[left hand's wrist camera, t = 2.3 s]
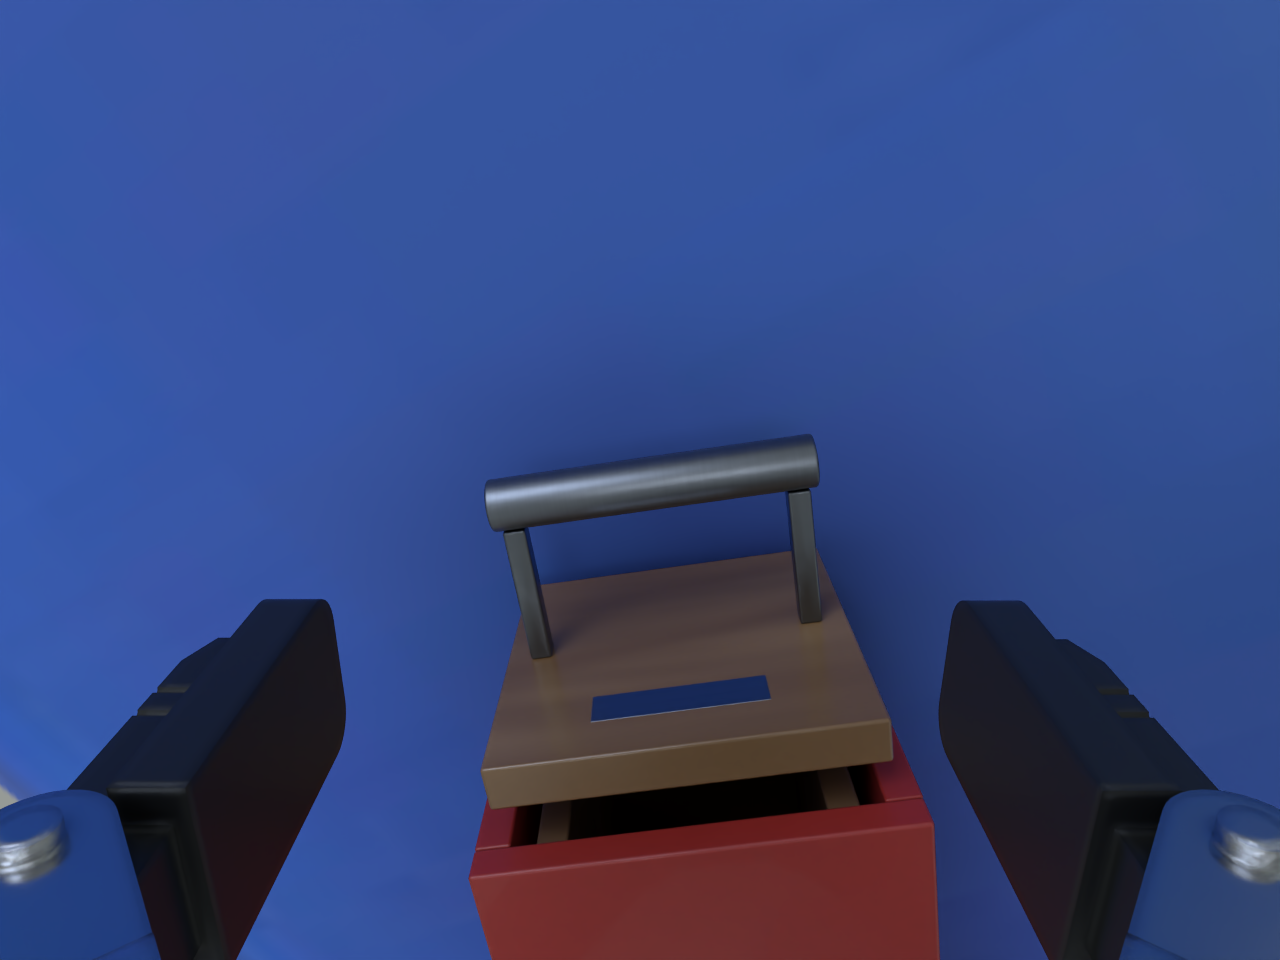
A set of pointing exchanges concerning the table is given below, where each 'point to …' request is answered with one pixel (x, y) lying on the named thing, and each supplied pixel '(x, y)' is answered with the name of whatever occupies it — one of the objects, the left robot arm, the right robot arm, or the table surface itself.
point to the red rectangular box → (721, 884)
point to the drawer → (678, 661)
